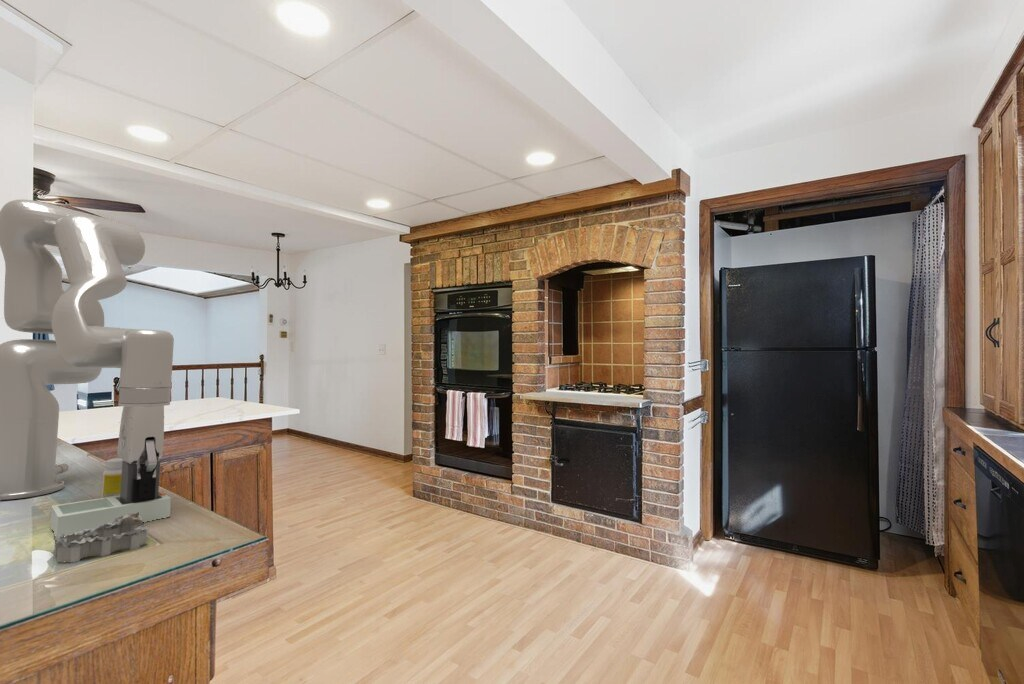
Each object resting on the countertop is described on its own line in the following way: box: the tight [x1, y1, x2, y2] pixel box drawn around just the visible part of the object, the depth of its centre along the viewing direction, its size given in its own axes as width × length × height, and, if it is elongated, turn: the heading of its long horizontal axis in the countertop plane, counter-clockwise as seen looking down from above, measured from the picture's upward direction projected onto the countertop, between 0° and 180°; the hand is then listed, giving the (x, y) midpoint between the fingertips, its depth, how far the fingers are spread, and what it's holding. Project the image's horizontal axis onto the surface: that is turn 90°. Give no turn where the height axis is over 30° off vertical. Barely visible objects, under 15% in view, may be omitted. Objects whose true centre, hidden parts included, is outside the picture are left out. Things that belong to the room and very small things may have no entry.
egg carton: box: [53, 512, 149, 563], centre depth 72 cm, size 11×8×4 cm
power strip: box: [49, 489, 172, 536], centre depth 84 cm, size 15×8×4 cm, turn 140°
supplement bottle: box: [100, 457, 124, 498], centre depth 94 cm, size 5×5×8 cm
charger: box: [120, 458, 161, 505], centre depth 87 cm, size 5×5×8 cm
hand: (139, 496), depth 86 cm, fingers open, 5 cm apart
